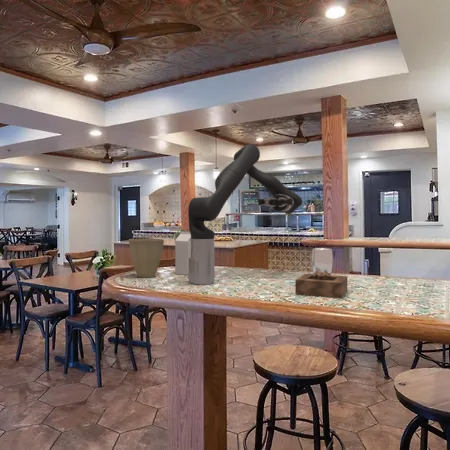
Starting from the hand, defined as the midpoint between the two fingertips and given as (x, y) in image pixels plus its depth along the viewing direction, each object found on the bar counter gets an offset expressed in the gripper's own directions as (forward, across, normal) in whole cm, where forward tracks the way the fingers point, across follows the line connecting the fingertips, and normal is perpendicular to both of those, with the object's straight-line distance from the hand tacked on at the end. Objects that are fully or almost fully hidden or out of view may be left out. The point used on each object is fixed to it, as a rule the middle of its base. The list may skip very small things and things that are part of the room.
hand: (270, 201), depth 159 cm
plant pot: (+13, -51, +32) cm, 62 cm away
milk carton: (-1, -40, +32) cm, 51 cm away
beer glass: (+16, +24, +32) cm, 43 cm away
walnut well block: (+16, +24, +32) cm, 43 cm away
